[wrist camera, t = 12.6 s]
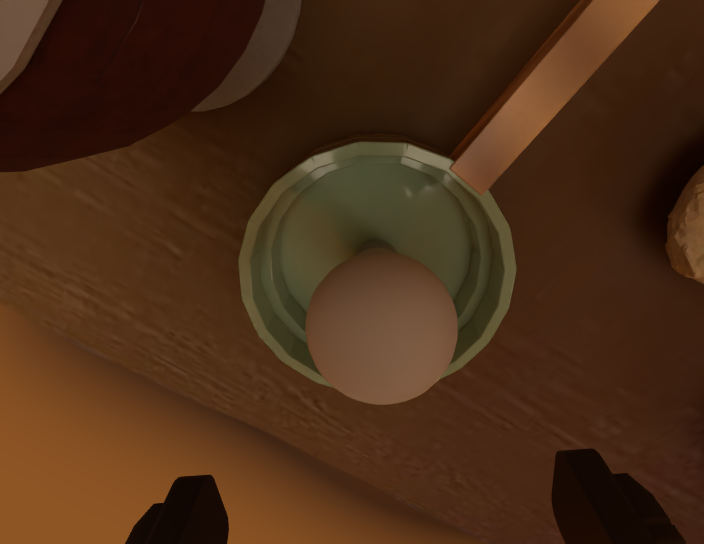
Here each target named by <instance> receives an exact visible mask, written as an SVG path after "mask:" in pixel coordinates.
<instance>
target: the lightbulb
mask: <svg viewBox="0 0 704 544" xmlns="http://www.w3.org/2000/svg"><path fill="white" fill-rule="evenodd" d="M305 330H306V338H307V343H308V349H309V351H310V354H311V356H312V359H313V361H314V363H315V366H316V367H317V369H318V370H319V372H320V373H321V375H322V376H323V377H324V378H325V379H326V380H327V381H328V382H329V383H330V384H331V385H332V386H333V387H334V388H336V389H337V390H338V391H340V392H341V393H343V394H344V395H346V396H348V397H350V398H352V399H355V400H357V401H361V402H365V403H369V404H379V405H385V404H395V403H400V402H404V401H407V400H410V399H412V398H415V397H417V396H419V395H420V394H422V393H424V392H425V391H427V390H428V389H429V388H430V387H431V386H432V385H434V384H435V383H436V382H437V381H438V380H439V379H440V378H441V376H442V375H443V374H444V372H445V371H446V370H447V368H448V366H449V364H450V362H451V360H452V358H453V355H454V351H455V347H456V343H457V338H458V324H457V314H456V310H455V305H454V303H453V300H452V298H451V296H450V294H449V292H448V290H447V288H446V286H445V285H444V284H443V283H442V281H441V280H440V279H439V278H438V276H437V275H435V274H434V273H433V272H432V271H431V270H429V269H428V268H427V267H426V266H424V265H423V264H422V263H420V262H418V261H416V260H414V259H412V258H411V257H408V256H405V255H401V254H398V253H397V252H396V250H395V249H394V247H393V246H392V245H390V244H389V243H387V242H385V241H381V240H372V241H369V242H366V243H364V244H363V245H362V246H361V247H360V248H359V249H358V250H357V252H356V255H355V256H354V257H352V258H350V259H348V260H346V261H344V262H342V263H340V264H339V265H338V266H336V267H335V268H334V269H333V270H331V271H330V272H329V273H328V274H327V276H326V277H325V278H324V279H323V280H322V281H321V283H320V284H319V285H318V286H317V288H316V290H315V292H314V294H313V295H312V297H311V301H310V304H309V307H308V311H307V315H306V327H305Z"/></svg>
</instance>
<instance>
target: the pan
mask: <svg viewBox="0 0 704 544" xmlns="http://www.w3.org/2000/svg"><path fill="white" fill-rule="evenodd" d="M454 162H455V161H454V160H453V159H451V158H450V157H449V156H448V155H446V154H445V153H444V152H443V151H441V150H439V149H438V148H436V147H433V146H430V145H428V144H425V143H422V142H420V141H417V140H415V139H412V138H409V137H407V136H404V135H400V134H371V133H360V134H355V135H352V136H349V137H345V138H342V139H339V140H336V141H332V142H329V143H326V144H323V145H321V146H318V147H317V148H315V149H314V150H313V151H311V152H310V153H309V154H307V155H306V156H304V157H303V158H302V159H300V160H299V161H298V162H296V163H295V164H293V165H292V166H291V167H289V168H288V169H287V170H286V171H285V172H284V173H283V174H282V175H281V176H280V177H279V178H278V179H277V180H276V181H275V182H274V183H273V185H272V186H271V187H270V189H269V190H268V192H267V193H266V195H265V196H264V198H263V199H262V200H261V202H260V203H259V205H258V206H257V208H256V209H255V211H254V212H253V214H252V215H251V217H250V218H249V220H248V223H247V227H246V231H245V235H244V238H243V242H242V246H241V250H240V254H239V258H238V259H239V260H238V265H239V276H240V287H241V297H242V301H243V303H244V305H245V307H246V310H247V312H248V314H249V316H250V319H251V321H252V323H253V325H254V328H255V330H256V332H257V333H258V335H259V336H260V338H261V339H262V340H263V341H264V342H265V343H266V344H267V345H268V347H269V348H270V349H271V350H272V351H273V352H274V353H275V354H276V355H277V357H278V358H279V359H280V360H281V361H282V362H283V363H285V364H287V365H288V366H290V367H291V368H293V369H295V370H296V371H298V372H299V373H301V374H303V375H304V376H306V377H307V378H309V379H311V380H312V381H315V382H316V383H319V384H323V385H326V386H329V387H333V386H332V385H331V384H330V383H329V382H328V381H327V380H326V379H325V378H324V377H323V376H322V375H321V373H320V372H319V370H318V369H317V367H316V366H315V363H314V361H313V359H312V356H311V354H310V351H309V349H308V343H307V338H306V330H305V327H306V315H307V311H308V307H309V304H310V301H311V297H312V295H313V294H314V292H315V290H316V288H317V286H318V285H319V284H320V283H321V281H322V280H323V279H324V278H325V277H326V276H327V274H328V273H329V272H330V271H331V270H333V269H334V268H335V267H336V266H338V265H339V264H340V263H342V262H344V261H346V260H348V259H350V258H352V257H354V256H355V255H356V252H357V250H358V249H359V248H360V247H361V246H362V245H363V244H364V243H366V242H369V241H372V240H381V241H385V242H387V243H389V244H390V245H392V246H393V247H394V249H395V250H396V252H397V253H398V254H401V255H405V256H408V257H411V258H412V259H414V260H416V261H418V262H420V263H422V264H423V265H424V266H426V267H427V268H428V269H429V270H431V271H432V272H433V273H434V274H435V275H437V276H438V278H439V279H440V280H441V281H442V283H443V284H444V285H445V286H446V288H447V290H448V292H449V294H450V296H451V298H452V300H453V303H454V305H455V310H456V314H457V324H458V338H457V343H456V347H455V351H454V355H453V358H452V360H451V362H450V364H449V366H448V368H447V370H446V371H445V372H444V374H443V375H442V376H441V378H440V379H442V378H444V377H446V376H448V375H449V374H451V373H453V372H455V371H457V370H459V369H461V368H462V367H463V366H464V365H465V364H466V363H468V362H469V361H470V360H471V359H472V358H473V357H474V356H475V355H476V354H477V353H478V352H479V351H480V350H481V349H483V348H484V347H485V346H486V345H487V344H488V343H489V342H490V340H491V339H492V337H493V335H494V333H495V332H496V330H497V328H498V326H499V325H500V323H501V321H502V319H503V318H504V316H505V314H506V313H507V311H508V309H509V305H510V300H511V295H512V290H513V285H514V280H515V275H516V261H515V255H514V248H513V242H512V236H511V229H510V226H509V225H508V223H507V221H506V219H505V218H504V216H503V214H502V212H501V210H500V209H499V207H498V205H497V203H496V202H495V200H494V198H493V196H492V195H491V193H490V191H489V190H487V191H486V192H485V193H484V194H483V195H480V194H479V193H477V192H476V191H475V190H474V189H473V188H471V187H470V186H469V185H468V184H467V183H465V182H464V181H463V180H462V179H461V178H459V177H458V176H457V175H456V174H455V173H453V172H452V171H451V170H450V169H449V168H450V166H451V165H452V164H453V163H454ZM440 379H439V380H440ZM333 388H334V387H333Z"/></svg>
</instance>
